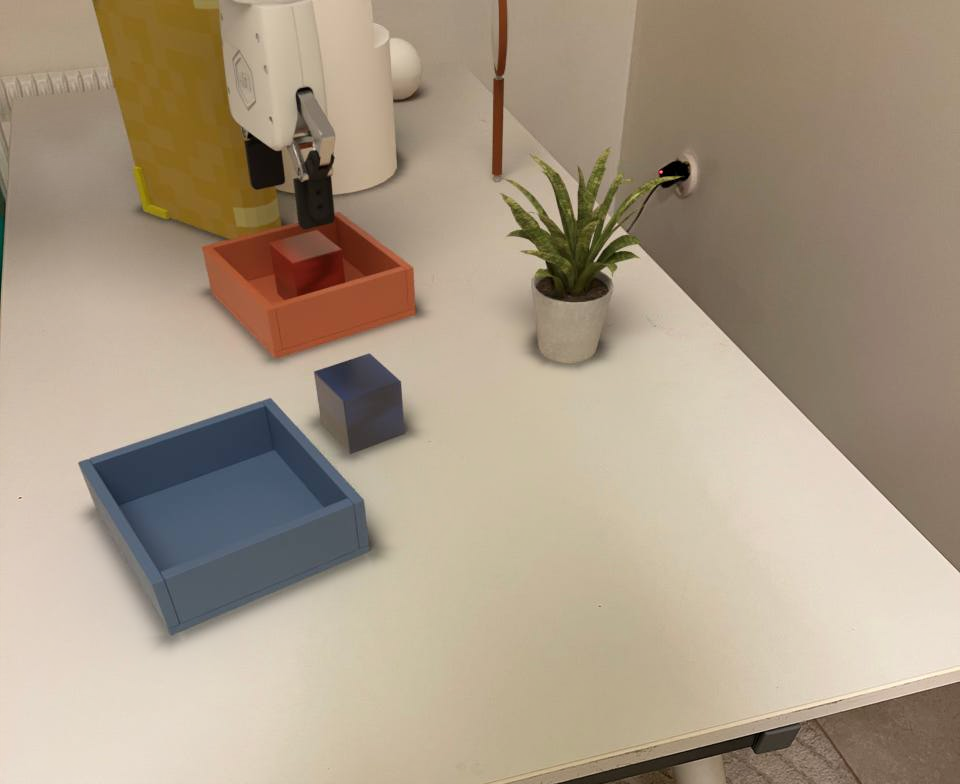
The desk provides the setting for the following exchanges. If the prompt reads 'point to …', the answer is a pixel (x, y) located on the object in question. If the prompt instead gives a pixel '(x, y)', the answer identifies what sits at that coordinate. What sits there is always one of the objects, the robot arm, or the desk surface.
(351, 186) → the cylinder
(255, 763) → the desk surface
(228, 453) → the blue bin
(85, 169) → the desk surface
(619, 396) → the desk surface
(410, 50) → the white egg
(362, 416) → the blue block
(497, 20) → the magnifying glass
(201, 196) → the book
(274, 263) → the red block
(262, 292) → the red bin
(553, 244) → the house plant
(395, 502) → the desk surface
